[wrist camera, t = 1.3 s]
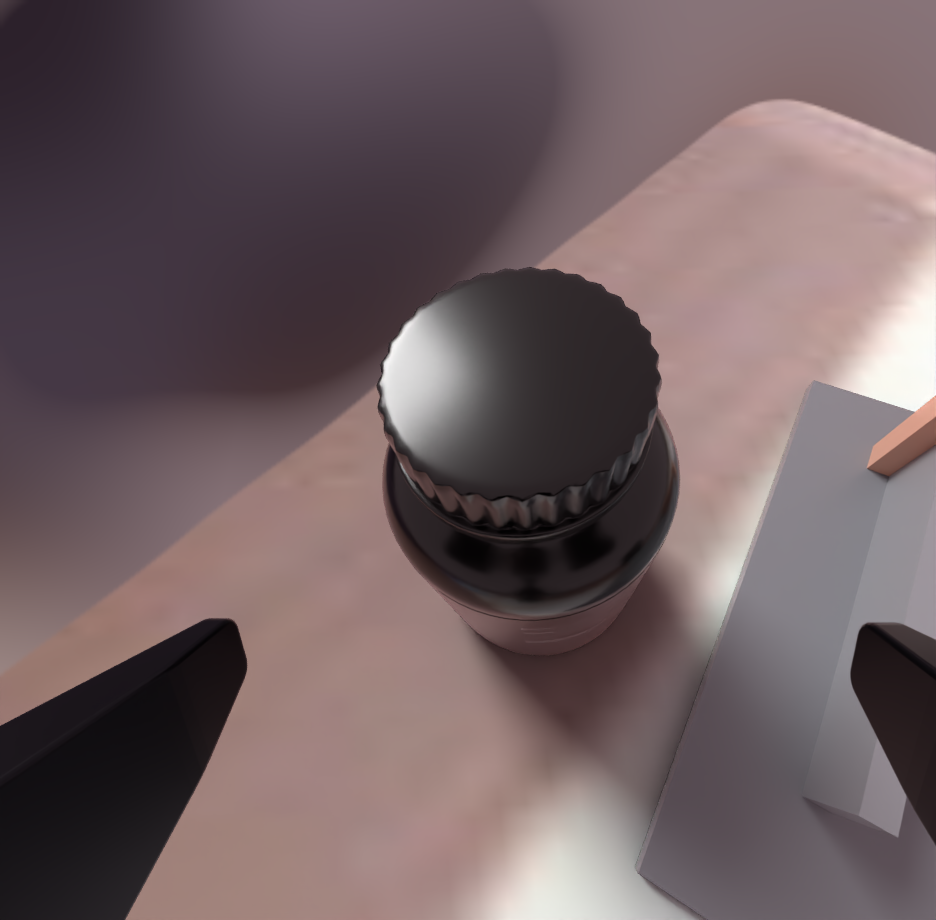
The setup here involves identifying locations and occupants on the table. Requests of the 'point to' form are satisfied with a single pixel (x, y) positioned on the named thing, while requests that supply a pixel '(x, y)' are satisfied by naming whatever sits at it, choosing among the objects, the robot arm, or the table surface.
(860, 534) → the bottle holder
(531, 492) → the supplement bottle
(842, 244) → the table surface
